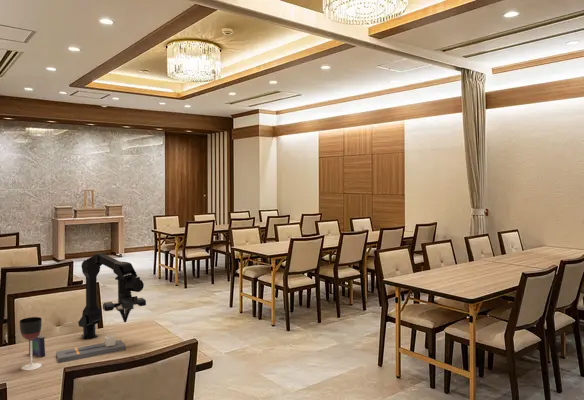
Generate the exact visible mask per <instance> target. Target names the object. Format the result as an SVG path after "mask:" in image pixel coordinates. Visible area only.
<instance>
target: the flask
mask: <svg viewBox="0 0 584 400" xmlns="http://www.w3.org/2000/svg"><path fill="white" fill-rule="evenodd" d="M28 355H29V356H30V340H28ZM32 356H34V357H38V358H44V357H46V344H45V336H44V335H42V334H41V333H40V334H39V336H38V337H36V338H35V339H33V340H32Z"/></svg>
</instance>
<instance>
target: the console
mask: <svg viewBox="0 0 584 400" xmlns="http://www.w3.org/2000/svg"><path fill="white" fill-rule="evenodd" d="M126 349H127V346H126V344H125V343H124V342H123V340H122V339H118V340H115V345H113V346H108V347H106V346H105V344H104V342H102V343H96V344H89V345H84V346H81V347H80V346H79V347H73V348H68V349H62V350H58V351H56V352H55V356H56V359H57V362H58V363H59V364H60V363H66V362H70V361H76V360H81V359H87V358H91V357H97V356H103V355H106V354H107V355H108V354H112V353H116V352H122V351H126Z"/></svg>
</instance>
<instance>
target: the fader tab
mask: <svg viewBox="0 0 584 400" xmlns="http://www.w3.org/2000/svg"><path fill="white" fill-rule="evenodd" d="M103 341H104V342H103V343H104V344H105V346H106V347H108V346H113V345H115V341H116V337H115V335H114V334H111V335H105V336H104V339H103Z"/></svg>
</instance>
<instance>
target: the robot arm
mask: <svg viewBox="0 0 584 400" xmlns="http://www.w3.org/2000/svg"><path fill="white" fill-rule="evenodd" d="M102 265H103V266H105V267H107V268H109V269H111V270H112V271H113V274H115V276H116V277H115V278H114V280H117V302H116V303H113V302H112V301H108V302H103V304H102V307H99V305H98V298H97V297H98V296H97V295H98V293H97V292H98V291H97V290H98V287H97V280H98V279H97V276H99V273H100V271H101V267H102ZM81 272H82V274H83V276H84V277H85V306H84V308H83V310H82V316H81V317H80V318H79V320H78V321H77V323H78V327H80V328H82V331H83V332H82V334H81V338H82V339H83V340H88V339H89V340H90V339H92V338H93V339H94V338H95V339H96V338H98V335H97V334H96V333H97V332H96V325H97V324H100V322H101V317H102V310H103V311H105V312H111V311H113V310H114V309H115V310H116V311H118V312H119V313H120V315H121V319H122V320H123V323H127V320H128V317H129V314H130V313H131V311H132V310H134V309H135V307H134V306H135V305H137V306H138V307H142V306H143V307H144V306H147V300H146V299H145V298H144V297H138V296H135V295H134V296H133V295H132V292H134V293H135V292H136V293H140V292H142V290H143V289H144V285H145V283H144V282H143V280H141V277H140V276H138V275H137V272H136V270H135V268H134V267H133V264H132V263H131V262H129V261H120V260H117V258H116V259H115V258H114V257H112V256H109V255H107V254H106V253H105V252H100V253H99V252H98V253H95V254H94V255H92V256H90V257H89V258H87V259H84V260H83V262H81Z"/></svg>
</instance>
